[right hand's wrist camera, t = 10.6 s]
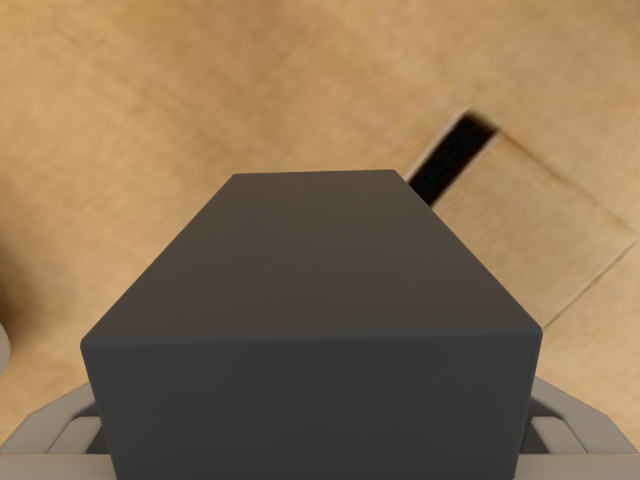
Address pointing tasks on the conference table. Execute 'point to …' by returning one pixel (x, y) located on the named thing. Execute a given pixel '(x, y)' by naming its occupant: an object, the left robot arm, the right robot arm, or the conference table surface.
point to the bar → (314, 343)
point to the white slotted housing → (4, 350)
